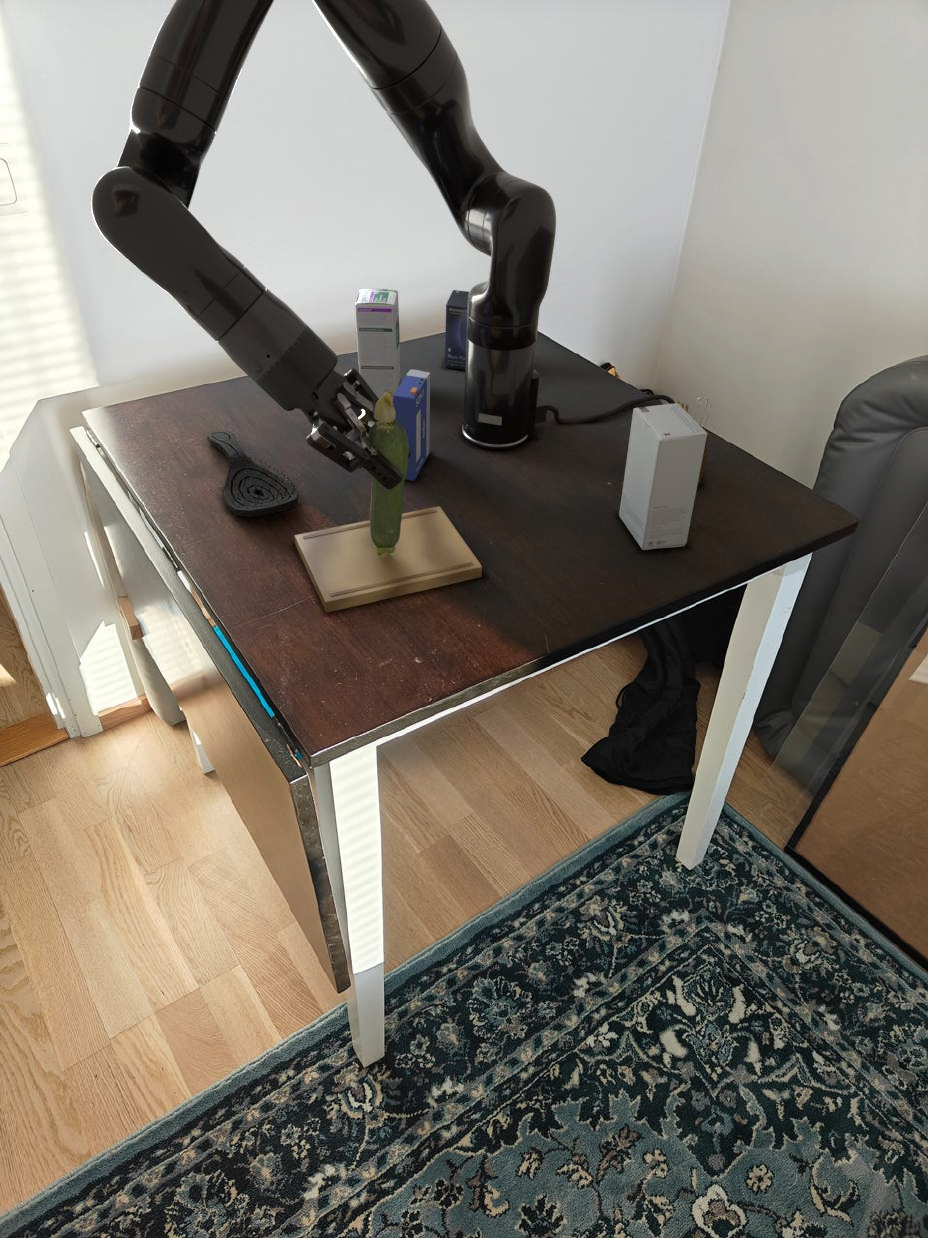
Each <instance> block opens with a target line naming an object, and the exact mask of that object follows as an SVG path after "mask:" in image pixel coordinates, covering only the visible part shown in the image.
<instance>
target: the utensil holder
mask: <svg viewBox="0 0 928 1238" xmlns="http://www.w3.org/2000/svg"><path fill="white" fill-rule="evenodd" d="M700 399H701V400H700ZM704 399H706V403H708V402H709V403H710V404H709V410H708V411H709V412H708V415H707V418H706V420H705V421H704V423H703V425H701V423H702V420H703V417H704V416H705V412H706V409H707V405H708V404H705V407H704V410H703V414H702V416H701V420H700V422H699V423H698V424H699V425H700V426H701V427H702V428H703V429H704V430H705V431H706V432H707V433H708V434H707V438H706V443H705V448H704V453H703V458H702V463H701V469H700V474H699V479H698V484H699V483H700V482H701V480H702V479H703V475H704V471H705V468H706V467H705V466H706V462H707V458H708V451H709V450H708V445H707V444H708V442H709V431H708V429H707V428H706V427H704V426H705V424H706V423H707V421H708V418H709V415H710V414H711V413H710V412H711V409H712V401H711V399H710V398H708V397H707V396H699V397H698V400H700V403H699V404H698V407H697V409H696V412H695V416H694V418H693V419H694V420H695V421H696V418H697V415H698V411H699V408H700V405H701V404H702V401H704ZM676 403H678V404H680V406H681V407H682V408H683V409H684V410H685V411H686V412H687V413H688V414H689V404H685V402H680V400H677V402H676ZM696 403H697V400H695V402H694V404H693V406H692V408H691V412H690V414H689V415H690V416H691V417H692V414H693V410H694V407H695V404H696Z"/></svg>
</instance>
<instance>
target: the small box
mask: <svg viewBox="0 0 928 1238" xmlns="http://www.w3.org/2000/svg"><path fill="white" fill-rule="evenodd" d="M469 292H470V291H468V290H467V291H466V290H458V289H452V291H451V293H450V295H449V298H448V299H447V300H446V301H447V302H446V304H445V332H444V333H445V334H444V337H445V338H444V368H446V369H447V368H448V369H455V370H464V371H465V364H466V339H467V308H468V295H469Z"/></svg>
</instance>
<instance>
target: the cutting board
mask: <svg viewBox="0 0 928 1238" xmlns="http://www.w3.org/2000/svg"><path fill="white" fill-rule="evenodd" d="M294 544H295V548H296V549H297V552H298V554H299V557H300V558H301V560H302V563H303V565H304V568H305V569H306V571H307V573H308V576H309V578H310V580H311V582H312V584H313V587H314V589H315V591H316V593H317V595H318V598H319V599H320V602H321V604H322V607H323V608H324V611H325V613H327V614H329V613H333V612H336V611H341V610H345V609H349V608H354V607H359V606H362V605H367V604H372V603H376V602H379V601H384V600H388V599H393V598H397V597H401V596H405V595H409V594H414V593H419V592H423V591H427V590H431V589H436V588H440V587H444V586H449V585H452V584H453V585H454V584H457V583H462V582H466V581H470V580H474V579H479V578H482V576H483V566H482V564H481V563H480V561H479V560H478V558H477V557H476V556H475V554H474V552H473V551H472V550H471V548H470V547H469V546H468V544H467V542H465V540H464V538H463V537H462V536H461V534H460V532H459V531H458V530H457V528H456V527H455V526H454V524H453V523H452V522H451V521H450V519H449V517H448V515H446V513H445V511H444V510H443V509H442V507H441V506H440V505H437V506H434V507H428V508H424V509H419V510H414V511H408V512H402V520H401V529H400V537H399V540H398V542H397V544H396V545H395V551H394V553H388V554H387V553H386V554H382V555H381V556H380V557H379V556H378V554H377V550H376V547H375V544H374V543H373V541H372V538H371V533H370V519H369V520H363V521H358V522H354V523H349V524H343V525H339V526H335V527H329V528H324V529H319V530H314V531H307V532H303V533H299V534H294Z"/></svg>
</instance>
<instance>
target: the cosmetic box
mask: <svg viewBox="0 0 928 1238" xmlns="http://www.w3.org/2000/svg"><path fill="white" fill-rule="evenodd" d="M685 410H686V409H685V408H684V409H683V408H682V407H681V403H680V404H678V403H677V402H675V404H670V403H666V404H665V403H664V404H657V405H648V406H642V407H635V408H633V410H632V418H631V425H630V432H629V440H628V447H627V454H626V461H625V462H626V463H625V469H624V476H623V482H622V483H623V484H622V492H621V498H620V499H621V500H620V504H619V505H620V506H619V512H618V516H619V518H620V520H621V521H622V522H623V524H624V525H625V526H626V528H627V530H628V531H629V532H630V534H631V535H632V537H633V538H634V540H635V541H636V542H637V544H638V545H639V547H640V549H641V550H642V551H648V550H656V549H669V548H679V547H685V546H686V545H687V542H688V537H689V531H690V526H691V522H692V515H693V510H694V507H695V501H696V495H697V489H698V485H699V483H698V479H699V474H700V469H701V463H702V458H703V453H704V448H705V443H706V438H707V434H708V435H709V432H708V433H707V432H706V431H705V430H704V429H703V428H702V427H701V426H702V425H701V424H700V423H698V422H697V421H696V420H694V419H695V418H693V417H692V415H691V414H689V412H688V413H687V412H686V411H685ZM690 415H691V416H690ZM699 424H700V425H699Z"/></svg>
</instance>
